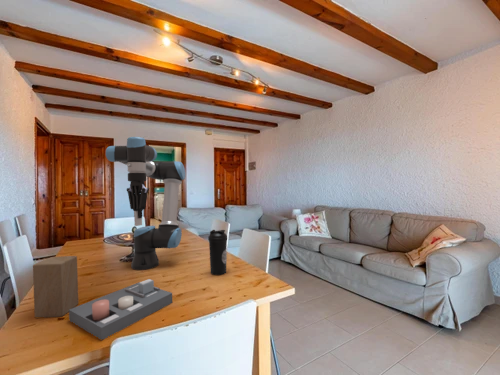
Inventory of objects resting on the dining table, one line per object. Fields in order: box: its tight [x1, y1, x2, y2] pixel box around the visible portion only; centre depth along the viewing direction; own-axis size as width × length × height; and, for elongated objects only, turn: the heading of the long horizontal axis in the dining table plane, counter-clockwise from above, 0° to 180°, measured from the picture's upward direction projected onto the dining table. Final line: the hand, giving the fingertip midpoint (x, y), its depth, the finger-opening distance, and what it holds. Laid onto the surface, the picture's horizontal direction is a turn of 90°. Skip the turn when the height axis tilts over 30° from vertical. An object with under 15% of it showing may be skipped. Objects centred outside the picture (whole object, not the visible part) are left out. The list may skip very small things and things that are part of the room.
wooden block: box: [32, 255, 79, 318], centre depth 96 cm, size 10×10×20 cm
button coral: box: [92, 299, 109, 321], centre depth 85 cm, size 5×5×5 cm
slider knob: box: [138, 278, 155, 294], centre depth 102 cm, size 3×5×4 cm, turn 148°
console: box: [68, 281, 173, 341], centre depth 95 cm, size 22×28×5 cm
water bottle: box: [208, 229, 228, 276], centre depth 134 cm, size 10×10×23 cm
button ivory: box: [118, 296, 133, 310], centre depth 93 cm, size 5×5×5 cm
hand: (138, 225), depth 110 cm, fingers closed
